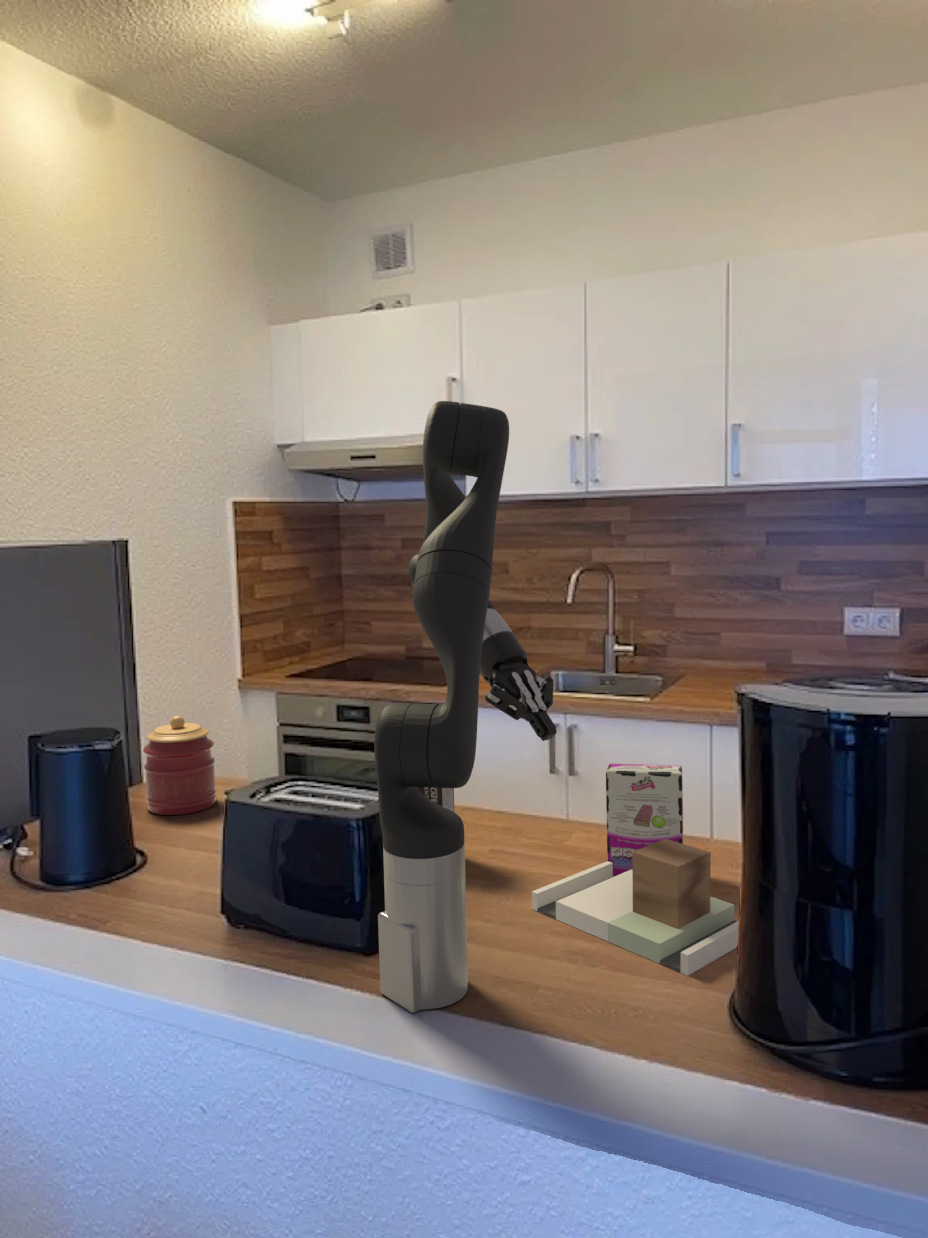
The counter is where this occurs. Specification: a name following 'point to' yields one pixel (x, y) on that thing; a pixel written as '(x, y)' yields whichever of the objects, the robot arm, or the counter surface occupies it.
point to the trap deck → (636, 920)
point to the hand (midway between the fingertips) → (550, 736)
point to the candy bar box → (641, 809)
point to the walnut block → (671, 882)
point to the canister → (179, 769)
